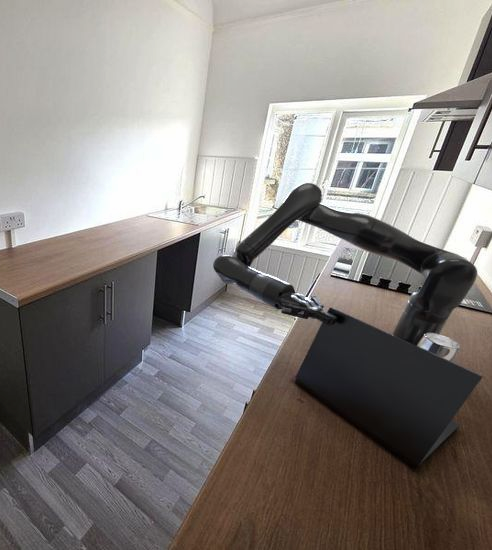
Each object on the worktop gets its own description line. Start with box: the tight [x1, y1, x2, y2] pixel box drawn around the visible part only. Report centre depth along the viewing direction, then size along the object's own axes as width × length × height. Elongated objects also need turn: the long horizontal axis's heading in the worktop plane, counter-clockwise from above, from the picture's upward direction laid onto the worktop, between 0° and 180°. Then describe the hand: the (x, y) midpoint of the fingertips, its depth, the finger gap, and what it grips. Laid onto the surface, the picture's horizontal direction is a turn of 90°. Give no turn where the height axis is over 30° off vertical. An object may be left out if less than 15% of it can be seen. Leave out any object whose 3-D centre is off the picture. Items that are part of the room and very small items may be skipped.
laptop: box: [294, 378, 461, 471], centre depth 73 cm, size 21×26×2 cm
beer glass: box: [417, 333, 461, 362], centre depth 78 cm, size 7×7×15 cm
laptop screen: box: [294, 306, 484, 465], centre depth 65 cm, size 21×26×1 cm
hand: (334, 321), depth 69 cm, fingers closed
